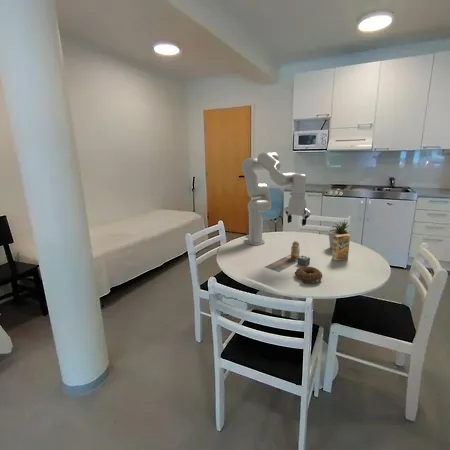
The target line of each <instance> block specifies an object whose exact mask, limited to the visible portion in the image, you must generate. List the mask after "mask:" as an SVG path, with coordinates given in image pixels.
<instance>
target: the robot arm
mask: <svg viewBox="0 0 450 450" xmlns="http://www.w3.org/2000/svg"><path fill="white" fill-rule="evenodd" d="M281 165H282V164H281V162H280V157H279V155H278V154H277V152H275V151H274V152H273V151H265V152H263V151H262V152H260V153H259V154H258V156H255V157H247V158H246V159H244V160H243V161H242V166H241V170H242V174H243V176H244V178H245V179H244V180H245V184H246V193H247V195H248V197H250V198H253V199H251V200H249V202H248V203H247V211H248V234H246V236H245V237H244V238H245V239H247V240H246V243H247V244H248V245H250V246H251V245H253V246H260V245H263V244H265V240H264V239H263V216H262V214H261V213H264V212H269V211H270V210H271V208H272V200H271V199H272V198H271V194H270V188H269V186H268V185H267V184H266V183H264V182H259V180H258V176H257V173H256V172H254V171H260V170H261V171H262V170H267V171H268V172H269V177H270V179H271V181H272V182H274V183H275V184H276V185H277V186H280V187H286V186H291V192H290V193H289V195H291V196H290V198H289V202H288V206H287V207H284V212H285V213H284V214H286V217H287V223H288V224H289V223H292V218H293V215H294V216H299V217H301V218H302V219H301V226H306V225H307V219H308V218H309V217H310V216H311V215H312V212H311V211H310V210H309V209H307V199H306V198H307V197H306V184H307V183H306V182H307V181H306V180H307V175H306V174H304V173H297V172H295V171H294V172H293V171H292V172H281V171H280V169H281ZM254 198H255V199H254Z"/></svg>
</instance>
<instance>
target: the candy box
mask: <svg viewBox="0 0 450 450" xmlns="http://www.w3.org/2000/svg"><path fill="white" fill-rule="evenodd" d="M350 238H351V235H350V234H340V235H334V239H333V249H332V254H331V255H332V256H331V259H332V260H334V261H344V260H349V251H350V242H351V241H350V240H351V239H350Z"/></svg>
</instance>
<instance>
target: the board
mask: <svg viewBox="0 0 450 450" xmlns="http://www.w3.org/2000/svg"><path fill="white" fill-rule="evenodd" d="M299 257H301V256H300V255H299ZM295 264H298V259H292V258H291V253H290V254H288V255H286V256H285V257H282V258H281V259H278V260H276V261H274V262H272V263H270V264H268V265H266V266H264V269H265V268H266V269H269V270H271V271H275V272H277V273H281V272H282V271H283V270H285V269H288V268H290V267H291V266H293V265H295Z"/></svg>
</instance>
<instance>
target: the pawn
mask: <svg viewBox="0 0 450 450" xmlns="http://www.w3.org/2000/svg"><path fill="white" fill-rule="evenodd" d="M290 247H291V248H290V251H291V252H290V254H291V258H292V259H298V258H299V256H300V249H301V246H300V243H299V241H296V240H295V241H293V242H292V245H291V246H290Z"/></svg>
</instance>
